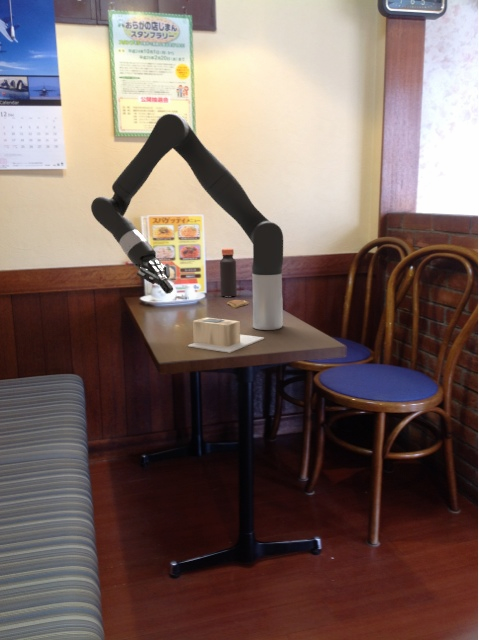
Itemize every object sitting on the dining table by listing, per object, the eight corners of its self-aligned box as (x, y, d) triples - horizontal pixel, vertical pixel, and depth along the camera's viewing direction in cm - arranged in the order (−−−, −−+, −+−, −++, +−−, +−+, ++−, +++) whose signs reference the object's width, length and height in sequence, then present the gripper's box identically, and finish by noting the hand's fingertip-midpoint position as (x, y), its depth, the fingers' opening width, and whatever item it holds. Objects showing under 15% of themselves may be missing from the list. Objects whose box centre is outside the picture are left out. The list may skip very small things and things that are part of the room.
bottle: (239, 296, 243) (238, 249, 239) (225, 298, 239) (224, 250, 235) (231, 294, 248) (230, 248, 244) (217, 296, 245) (216, 249, 241)
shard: (235, 309, 215) (235, 304, 215) (218, 308, 219) (218, 303, 219) (249, 305, 225) (249, 300, 224) (232, 303, 228) (232, 299, 228)
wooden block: (205, 316, 166) (239, 320, 160) (206, 337, 168) (240, 342, 161) (192, 320, 161) (227, 324, 155) (193, 341, 163) (228, 346, 156)
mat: (224, 333, 174) (224, 332, 174) (264, 338, 166) (264, 337, 166) (188, 346, 159) (188, 345, 159) (229, 352, 151) (229, 351, 151)
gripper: (127, 241, 164) (162, 286, 160) (158, 238, 175) (190, 280, 171) (115, 259, 168) (148, 303, 164) (145, 255, 179) (177, 296, 175)
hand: (170, 291), depth 168 cm, fingers closed
